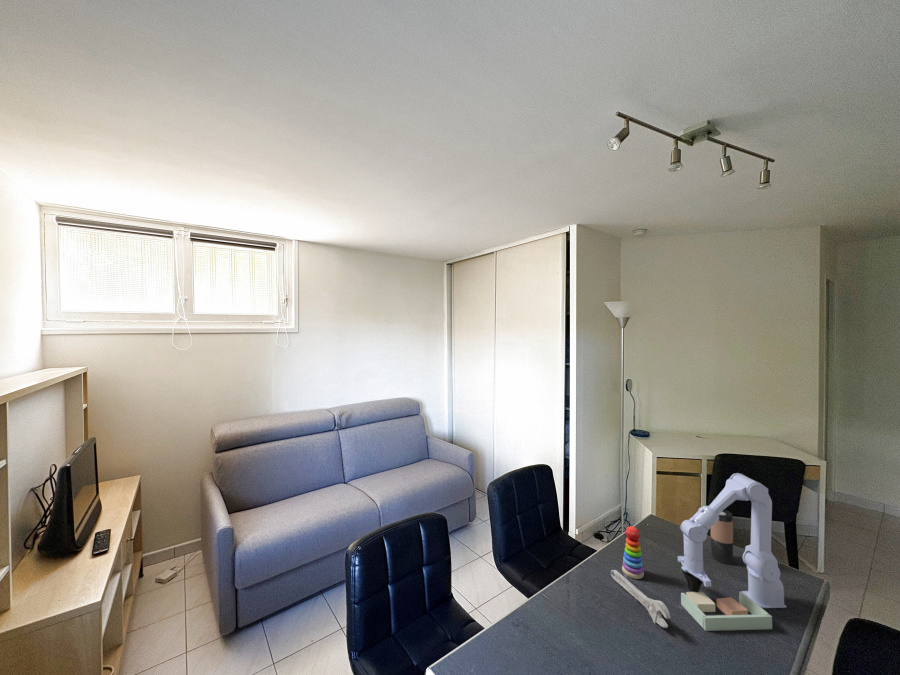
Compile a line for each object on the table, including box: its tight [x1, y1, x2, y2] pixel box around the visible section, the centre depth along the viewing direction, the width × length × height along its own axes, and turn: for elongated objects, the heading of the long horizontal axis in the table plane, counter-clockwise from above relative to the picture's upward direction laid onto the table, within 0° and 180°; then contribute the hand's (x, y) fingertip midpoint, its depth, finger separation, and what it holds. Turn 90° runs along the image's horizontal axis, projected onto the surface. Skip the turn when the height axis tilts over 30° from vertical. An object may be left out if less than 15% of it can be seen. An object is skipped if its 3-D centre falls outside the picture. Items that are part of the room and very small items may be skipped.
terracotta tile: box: [715, 596, 749, 615], centre depth 121 cm, size 6×6×3 cm
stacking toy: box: [621, 525, 645, 580], centre depth 142 cm, size 8×8×19 cm
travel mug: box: [710, 509, 734, 565], centre depth 151 cm, size 8×8×20 cm
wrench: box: [610, 569, 672, 629], centre depth 126 cm, size 8×2×30 cm
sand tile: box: [685, 591, 716, 613], centre depth 124 cm, size 6×6×3 cm
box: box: [680, 591, 773, 632], centre depth 119 cm, size 22×12×4 cm, turn 91°
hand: (693, 593), depth 128 cm, fingers closed
